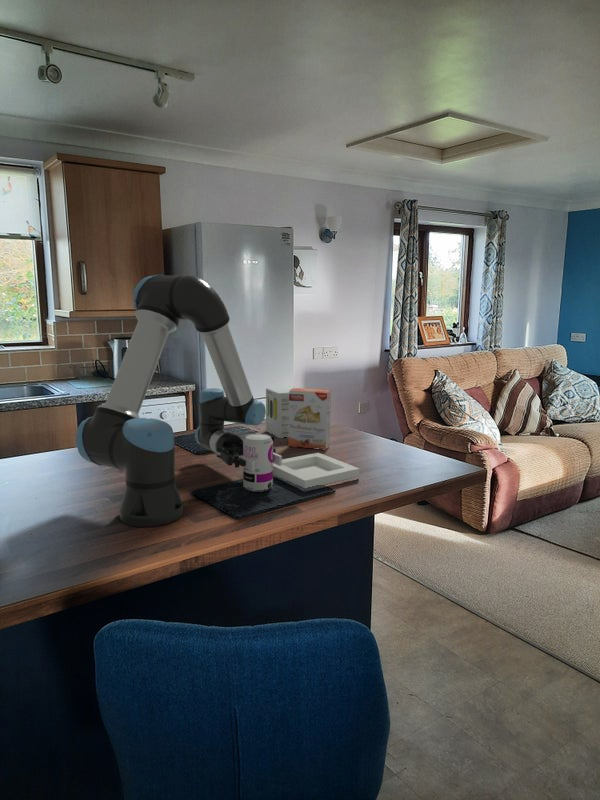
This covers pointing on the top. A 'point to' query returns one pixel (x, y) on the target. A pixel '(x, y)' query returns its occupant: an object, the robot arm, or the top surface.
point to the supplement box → (278, 411)
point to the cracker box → (309, 418)
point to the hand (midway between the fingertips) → (267, 463)
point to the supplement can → (258, 461)
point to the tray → (314, 470)
